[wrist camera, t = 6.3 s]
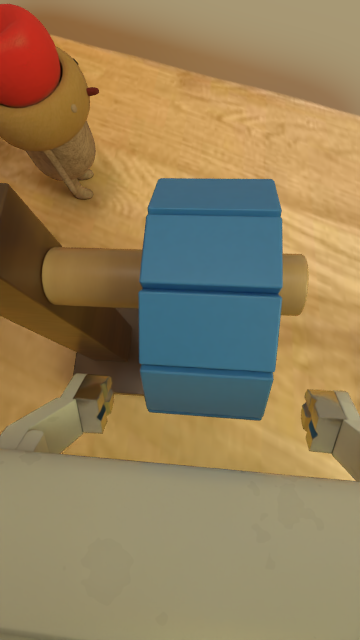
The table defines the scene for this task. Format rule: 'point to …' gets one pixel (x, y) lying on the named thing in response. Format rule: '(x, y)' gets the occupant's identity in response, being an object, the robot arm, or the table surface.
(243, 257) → the blue segmented wheel
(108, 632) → the robot arm
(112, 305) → the rack
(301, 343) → the table surface
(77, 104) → the toy
